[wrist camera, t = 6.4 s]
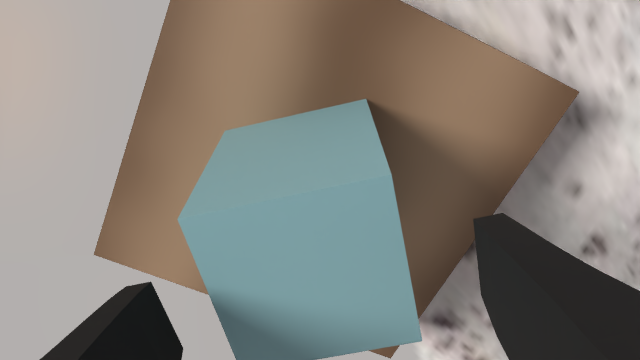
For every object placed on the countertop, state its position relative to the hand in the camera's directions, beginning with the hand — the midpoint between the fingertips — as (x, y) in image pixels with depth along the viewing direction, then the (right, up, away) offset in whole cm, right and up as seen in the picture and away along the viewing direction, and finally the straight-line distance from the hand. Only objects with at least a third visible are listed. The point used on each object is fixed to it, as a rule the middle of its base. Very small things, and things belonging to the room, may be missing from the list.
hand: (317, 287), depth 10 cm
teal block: (0, +2, +5) cm, 6 cm away
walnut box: (0, +4, +8) cm, 9 cm away
